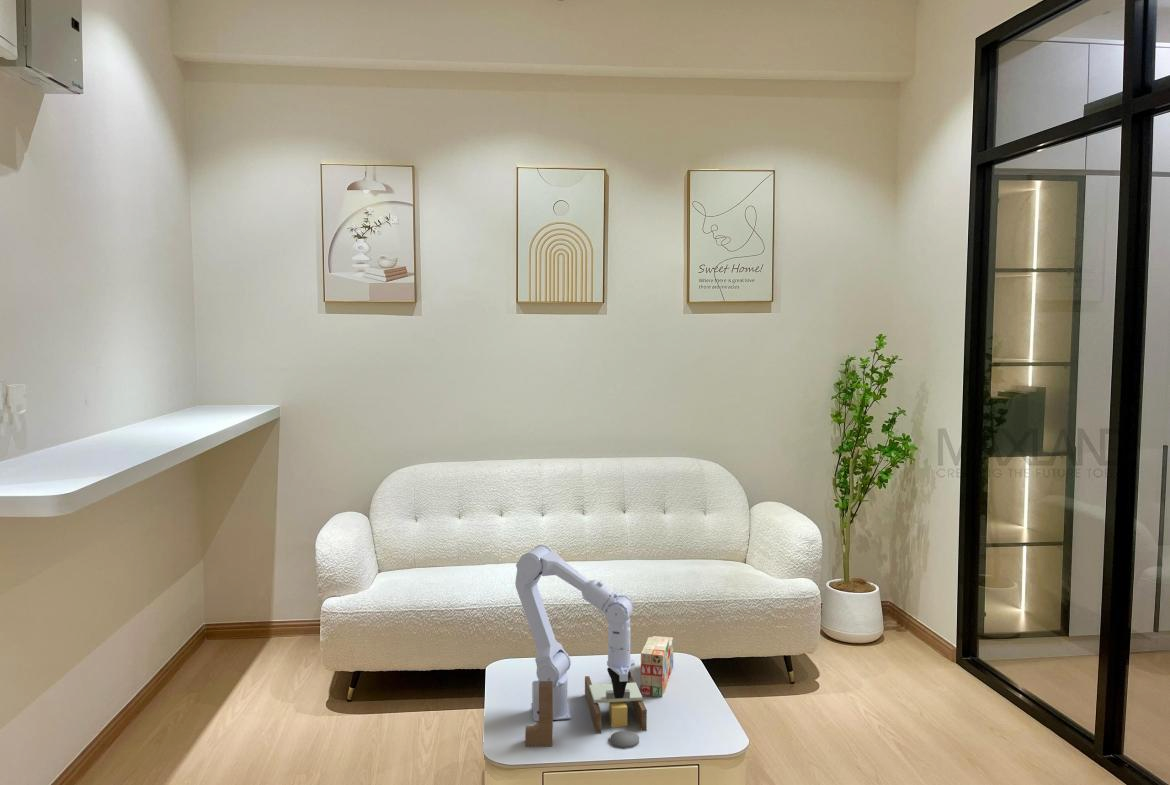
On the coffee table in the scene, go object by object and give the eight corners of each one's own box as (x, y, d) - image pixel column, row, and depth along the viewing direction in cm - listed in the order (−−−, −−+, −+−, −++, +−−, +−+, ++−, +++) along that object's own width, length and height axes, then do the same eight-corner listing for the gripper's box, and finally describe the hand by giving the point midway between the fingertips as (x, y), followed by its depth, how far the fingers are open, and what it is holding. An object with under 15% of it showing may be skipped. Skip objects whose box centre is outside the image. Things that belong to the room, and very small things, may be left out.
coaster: (613, 748, 193) (613, 745, 193) (608, 734, 200) (608, 731, 200) (641, 747, 194) (641, 743, 194) (636, 733, 201) (636, 729, 201)
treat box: (596, 733, 201) (596, 713, 200) (584, 694, 223) (584, 676, 222) (646, 730, 202) (646, 710, 202) (630, 692, 224) (630, 673, 224)
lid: (594, 703, 205) (594, 694, 205) (589, 687, 214) (589, 679, 214) (642, 700, 207) (642, 691, 207) (635, 685, 216) (635, 676, 216)
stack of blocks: (653, 665, 243) (653, 625, 242) (673, 667, 242) (673, 627, 241) (640, 695, 223) (640, 652, 222) (662, 698, 221) (663, 654, 220)
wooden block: (552, 739, 198) (552, 680, 197) (552, 746, 194) (552, 686, 193) (526, 740, 198) (525, 680, 196) (525, 746, 194) (525, 686, 193)
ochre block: (611, 727, 204) (611, 708, 204) (609, 719, 208) (609, 700, 208) (627, 726, 205) (627, 707, 205) (624, 718, 209) (624, 700, 208)
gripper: (640, 655, 198) (639, 709, 198) (629, 634, 212) (629, 684, 213) (611, 657, 197) (611, 710, 198) (603, 635, 211) (602, 685, 212)
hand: (618, 697), depth 205 cm, fingers closed
